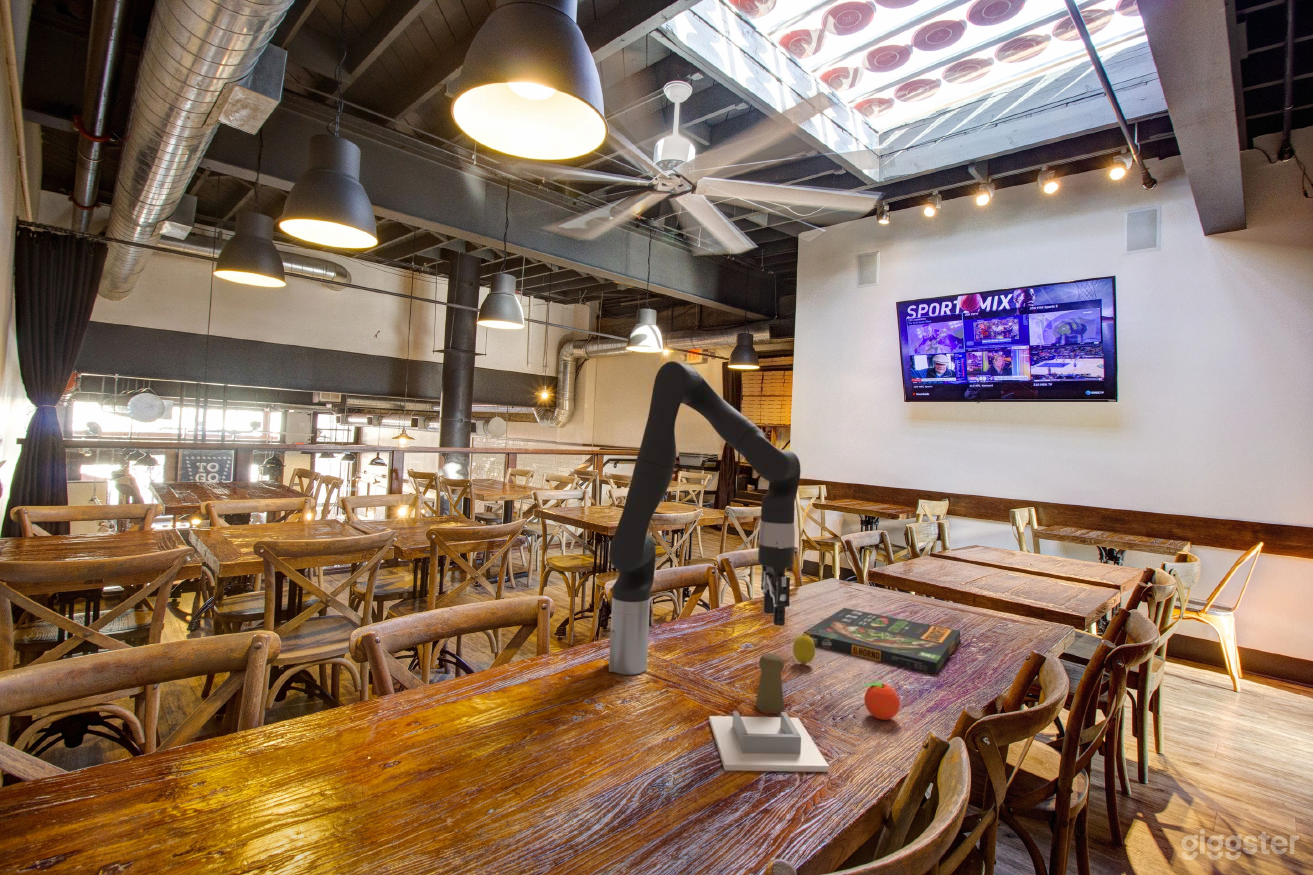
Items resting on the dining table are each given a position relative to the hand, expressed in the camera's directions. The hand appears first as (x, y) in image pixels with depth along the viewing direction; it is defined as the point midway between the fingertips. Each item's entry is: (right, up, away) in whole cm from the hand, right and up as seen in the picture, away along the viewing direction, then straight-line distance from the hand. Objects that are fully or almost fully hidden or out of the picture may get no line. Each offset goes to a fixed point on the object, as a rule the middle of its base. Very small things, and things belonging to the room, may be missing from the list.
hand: (773, 618), depth 128 cm
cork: (-1, -19, 0) cm, 19 cm away
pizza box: (+41, -22, +47) cm, 67 cm away
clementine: (+21, -20, -3) cm, 29 cm away
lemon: (+13, -20, +26) cm, 35 cm away
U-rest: (-5, -18, -16) cm, 25 cm away
